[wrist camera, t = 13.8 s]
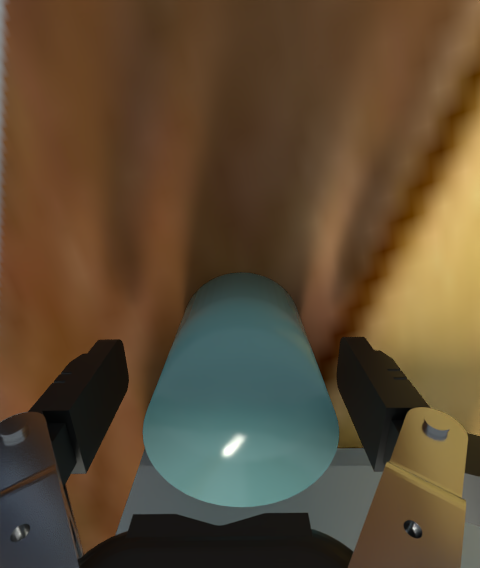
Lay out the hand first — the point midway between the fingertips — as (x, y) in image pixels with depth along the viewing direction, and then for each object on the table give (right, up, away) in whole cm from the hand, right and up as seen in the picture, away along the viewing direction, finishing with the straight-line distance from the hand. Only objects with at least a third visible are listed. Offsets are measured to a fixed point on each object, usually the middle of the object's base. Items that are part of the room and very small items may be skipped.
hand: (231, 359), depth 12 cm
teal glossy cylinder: (0, +1, +2) cm, 2 cm away
